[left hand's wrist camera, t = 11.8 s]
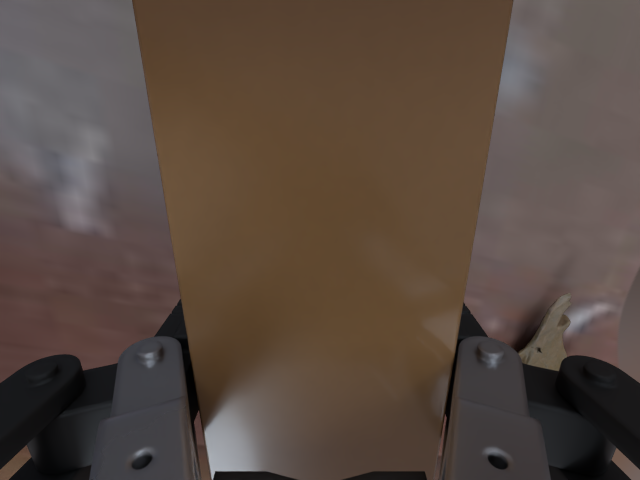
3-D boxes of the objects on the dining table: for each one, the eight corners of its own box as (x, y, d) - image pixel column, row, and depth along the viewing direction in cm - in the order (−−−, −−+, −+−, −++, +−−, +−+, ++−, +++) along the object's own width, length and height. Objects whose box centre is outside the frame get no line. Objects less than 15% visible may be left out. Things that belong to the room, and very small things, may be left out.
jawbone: (591, 350, 32) (609, 367, 31) (396, 444, 37) (401, 464, 35) (556, 281, 29) (573, 296, 27) (347, 394, 34) (349, 413, 32)
